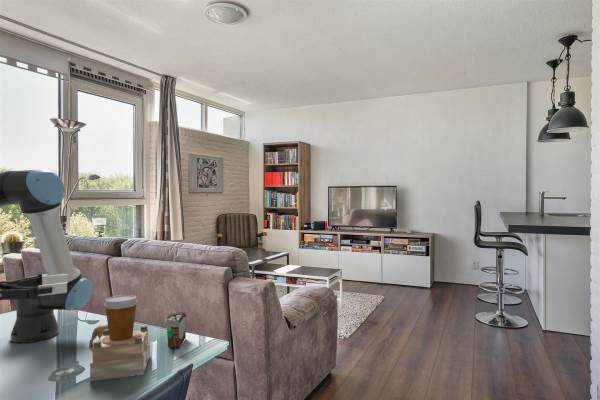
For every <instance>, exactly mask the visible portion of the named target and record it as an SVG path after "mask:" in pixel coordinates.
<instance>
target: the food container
mask: <svg viewBox="0 0 600 400" xmlns="http://www.w3.org/2000/svg"><path fill="white" fill-rule="evenodd" d="M163 324H164V326H166V337H167V347H168V346H169V347H168V348H170V349H173V350H174V349H175V350H179V349H181V347H182V346H183V344H182V343H184V342H185V341H184V339H185V338H186V337H187V336H186V335H187V334H186V333H187V332H186V330H187V311H186V310H185V311H177V312H173V313H172V312H171V313H170V314H168V315H166V317H165V319H164V323H163ZM186 339H187V338H186ZM186 339H185V340H186ZM183 341H184V342H183ZM181 345H182V346H181Z"/></svg>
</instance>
